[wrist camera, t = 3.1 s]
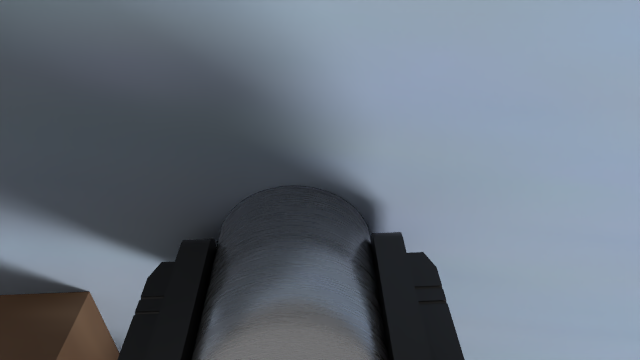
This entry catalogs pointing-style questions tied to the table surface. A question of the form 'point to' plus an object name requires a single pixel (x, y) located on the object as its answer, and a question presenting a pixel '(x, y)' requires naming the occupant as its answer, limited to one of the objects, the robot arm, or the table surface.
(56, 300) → the walnut block
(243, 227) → the metal cylinder
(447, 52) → the table surface
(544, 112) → the table surface
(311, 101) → the table surface
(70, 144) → the table surface
